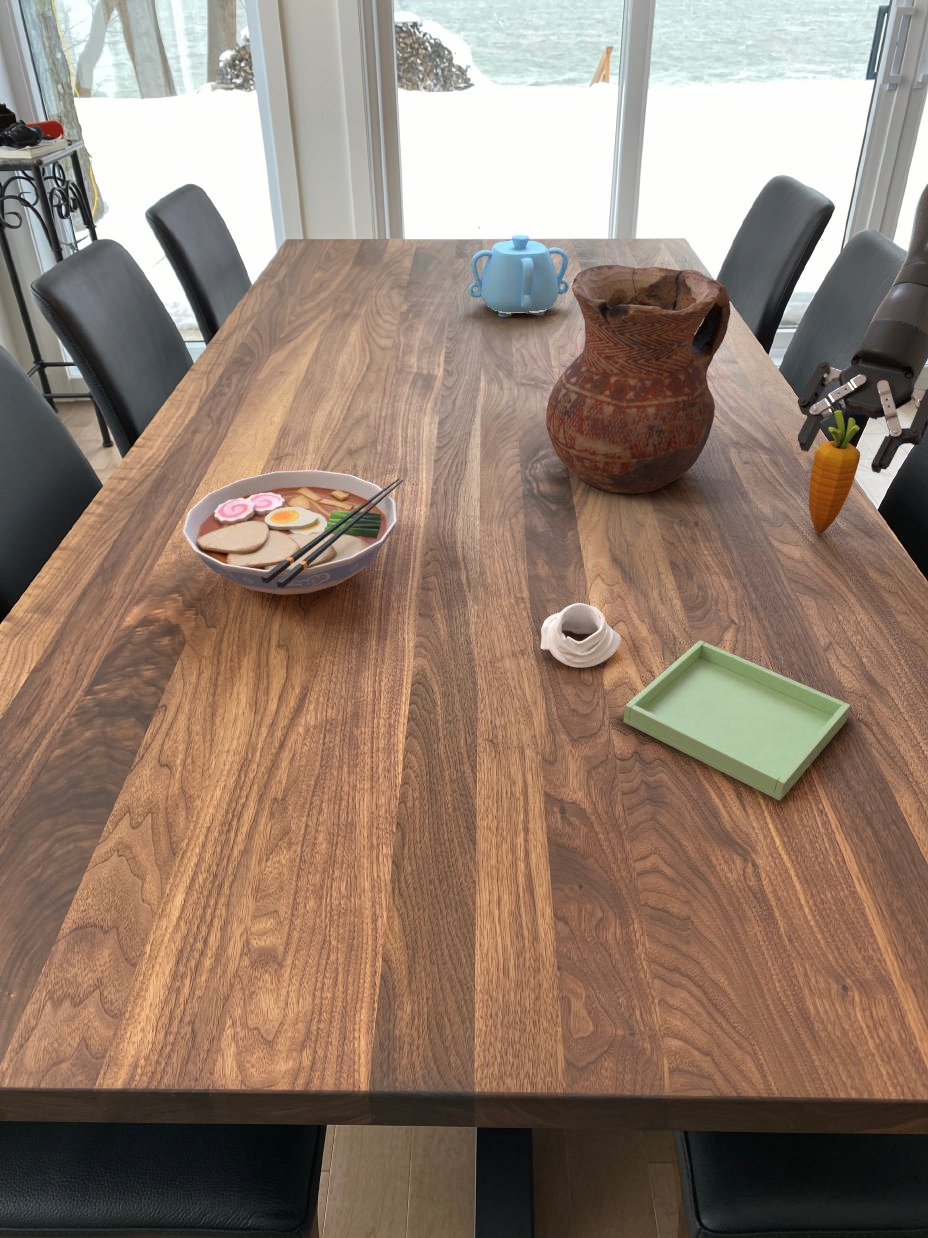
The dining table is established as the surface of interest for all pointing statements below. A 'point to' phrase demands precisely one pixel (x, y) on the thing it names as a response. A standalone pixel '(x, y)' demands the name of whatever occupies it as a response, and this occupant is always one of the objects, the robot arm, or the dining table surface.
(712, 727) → the green tray
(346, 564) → the ramen bowl
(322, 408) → the dining table surface
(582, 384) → the jug
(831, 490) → the carrot
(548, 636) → the white cowl scarf
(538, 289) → the decorative pot
